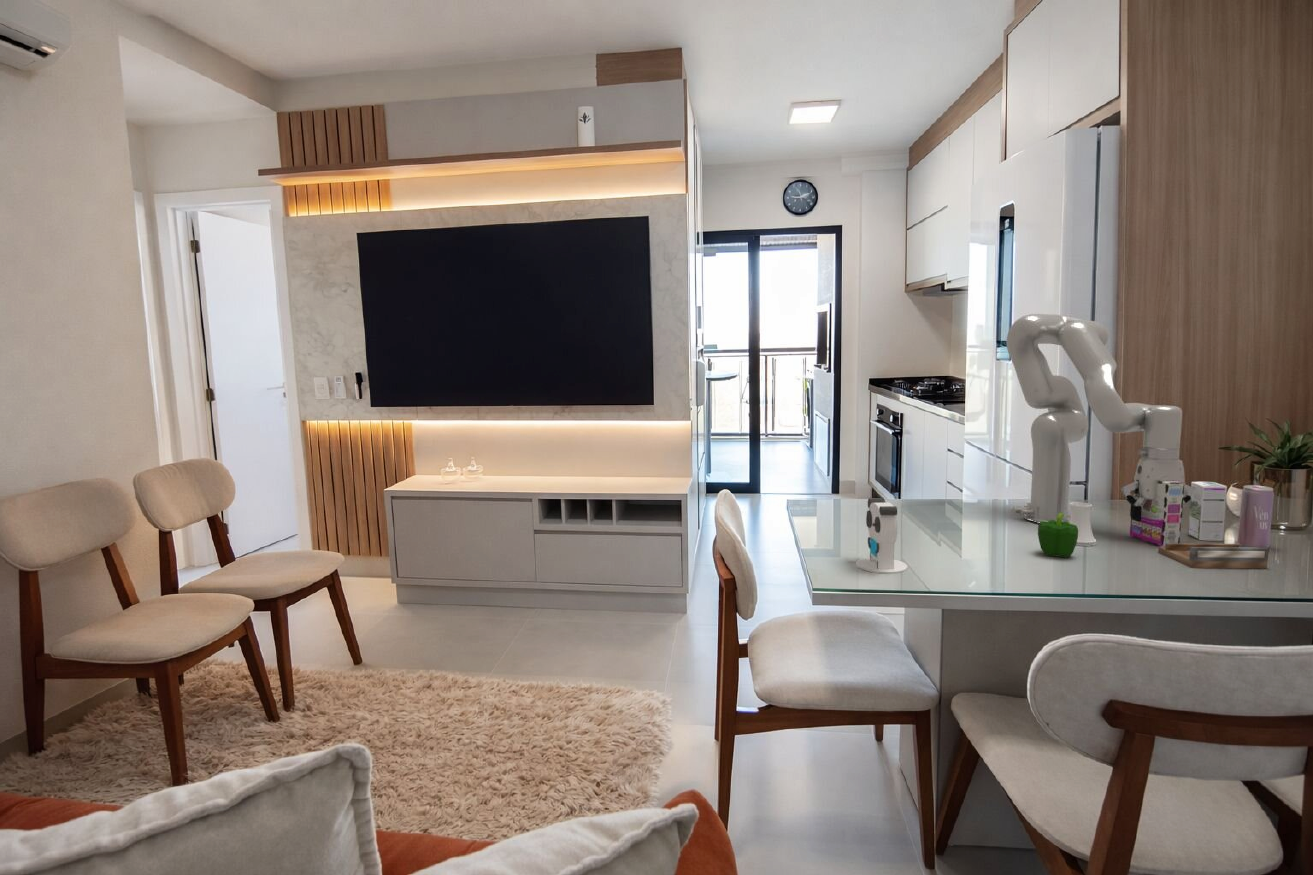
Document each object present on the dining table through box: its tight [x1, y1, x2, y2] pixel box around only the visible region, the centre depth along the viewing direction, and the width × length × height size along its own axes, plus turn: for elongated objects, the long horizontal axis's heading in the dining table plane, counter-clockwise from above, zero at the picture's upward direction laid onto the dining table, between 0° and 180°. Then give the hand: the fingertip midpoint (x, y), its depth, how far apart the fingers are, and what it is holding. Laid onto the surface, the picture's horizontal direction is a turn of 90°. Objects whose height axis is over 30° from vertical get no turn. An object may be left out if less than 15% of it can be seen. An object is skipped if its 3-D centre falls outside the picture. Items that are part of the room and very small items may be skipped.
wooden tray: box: [1157, 542, 1270, 569], centre depth 163 cm, size 16×12×4 cm
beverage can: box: [1237, 484, 1275, 549], centre depth 173 cm, size 6×6×15 cm
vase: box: [1069, 501, 1097, 547], centre depth 180 cm, size 8×8×10 cm
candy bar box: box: [1129, 475, 1186, 547], centre depth 179 cm, size 11×5×16 cm, turn 5°
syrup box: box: [1187, 481, 1228, 542], centre depth 182 cm, size 6×6×14 cm
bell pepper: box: [1037, 513, 1078, 558], centre depth 169 cm, size 8×8×10 cm
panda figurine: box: [855, 497, 909, 575], centre depth 162 cm, size 12×11×15 cm
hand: (1155, 520), depth 179 cm, fingers open, 9 cm apart
